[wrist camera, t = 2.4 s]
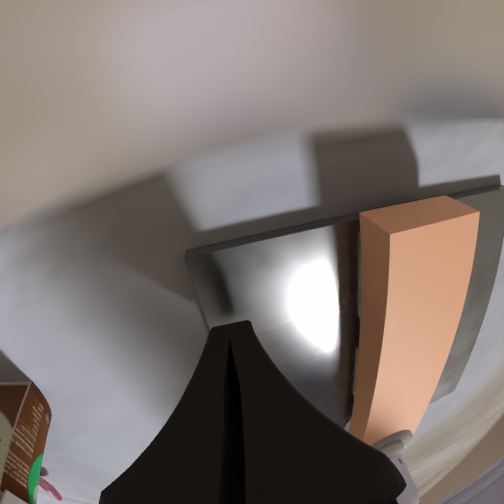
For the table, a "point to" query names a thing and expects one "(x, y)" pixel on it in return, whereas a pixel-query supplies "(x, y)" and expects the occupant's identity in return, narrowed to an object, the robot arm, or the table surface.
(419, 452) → the table surface
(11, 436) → the food container
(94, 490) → the table surface
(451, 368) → the label plate
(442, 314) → the swing bar
